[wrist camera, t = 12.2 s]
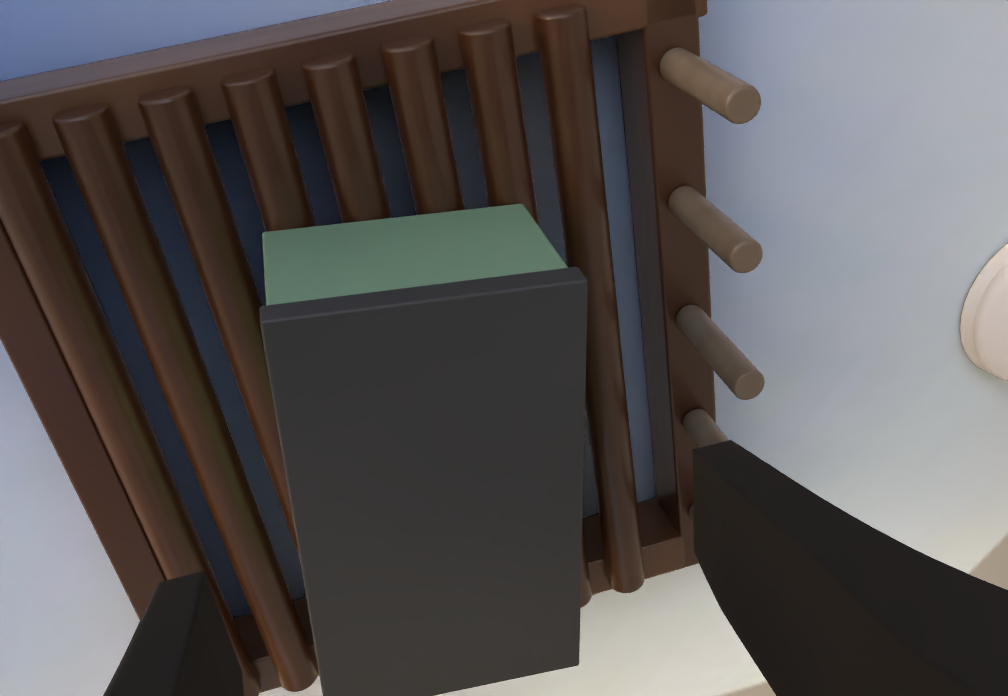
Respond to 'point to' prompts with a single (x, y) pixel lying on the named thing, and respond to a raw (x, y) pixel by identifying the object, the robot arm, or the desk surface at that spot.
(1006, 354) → the chess piece
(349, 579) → the box
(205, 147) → the dish rack
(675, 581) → the desk surface
